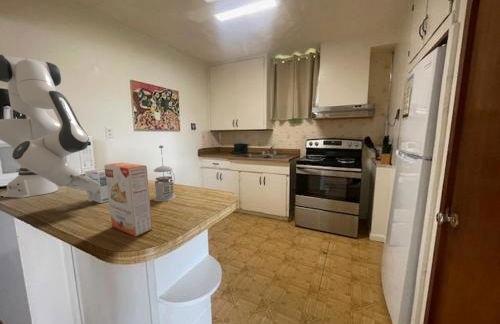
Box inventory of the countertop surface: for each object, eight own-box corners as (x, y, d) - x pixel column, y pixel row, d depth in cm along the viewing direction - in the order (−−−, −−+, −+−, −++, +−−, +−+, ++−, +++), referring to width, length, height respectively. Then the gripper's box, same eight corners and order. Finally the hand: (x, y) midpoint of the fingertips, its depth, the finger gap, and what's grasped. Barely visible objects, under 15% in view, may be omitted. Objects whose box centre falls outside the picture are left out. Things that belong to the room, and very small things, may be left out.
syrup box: (101, 203, 91) (97, 171, 89) (94, 201, 94) (90, 170, 92) (114, 199, 96) (111, 169, 94) (107, 198, 99) (104, 168, 97)
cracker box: (110, 227, 67) (103, 164, 64) (129, 220, 72) (123, 161, 69) (134, 238, 60) (127, 167, 57) (153, 229, 65) (147, 164, 62)
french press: (149, 200, 94) (144, 146, 91) (166, 193, 105) (162, 144, 102) (166, 202, 92) (162, 146, 88) (182, 194, 102) (179, 144, 99)
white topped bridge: (101, 203, 90) (98, 172, 88) (88, 200, 95) (84, 171, 93) (134, 194, 104) (131, 167, 102) (121, 192, 109) (118, 166, 107)
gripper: (85, 169, 79) (114, 188, 89) (58, 167, 87) (87, 184, 97) (72, 183, 75) (104, 201, 85) (46, 179, 84) (77, 196, 94)
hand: (94, 192), depth 91 cm, fingers closed, pressing on syrup box
